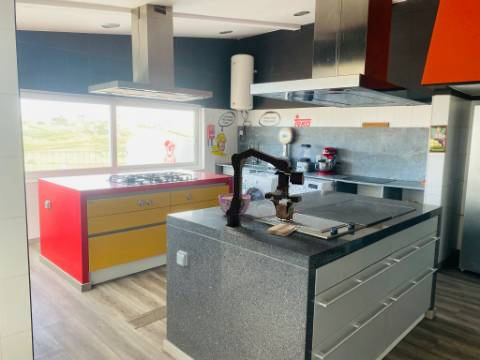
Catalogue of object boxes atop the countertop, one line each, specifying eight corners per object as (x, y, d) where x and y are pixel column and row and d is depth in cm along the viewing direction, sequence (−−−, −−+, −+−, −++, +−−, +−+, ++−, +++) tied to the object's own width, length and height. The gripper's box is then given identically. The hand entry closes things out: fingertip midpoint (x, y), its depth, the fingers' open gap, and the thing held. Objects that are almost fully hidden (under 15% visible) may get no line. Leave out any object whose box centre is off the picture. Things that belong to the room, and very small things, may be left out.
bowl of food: (217, 218, 217) (217, 199, 215) (218, 211, 237) (218, 193, 235) (251, 219, 218) (252, 199, 216) (249, 211, 237) (249, 193, 236)
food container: (271, 219, 219) (271, 202, 217) (277, 217, 223) (278, 201, 222) (287, 223, 210) (288, 205, 209) (294, 221, 215) (295, 204, 213)
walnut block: (275, 216, 191) (276, 205, 190) (279, 214, 196) (280, 203, 195) (284, 218, 189) (285, 206, 188) (288, 216, 193) (289, 204, 192)
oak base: (267, 233, 190) (267, 229, 189) (278, 226, 202) (278, 223, 202) (285, 236, 185) (285, 232, 185) (295, 229, 197) (295, 226, 197)
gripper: (260, 184, 187) (259, 214, 190) (294, 187, 178) (293, 219, 181) (269, 181, 197) (268, 210, 199) (302, 184, 188) (301, 214, 190)
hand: (282, 213), depth 192 cm, fingers closed on walnut block, 5 cm apart
